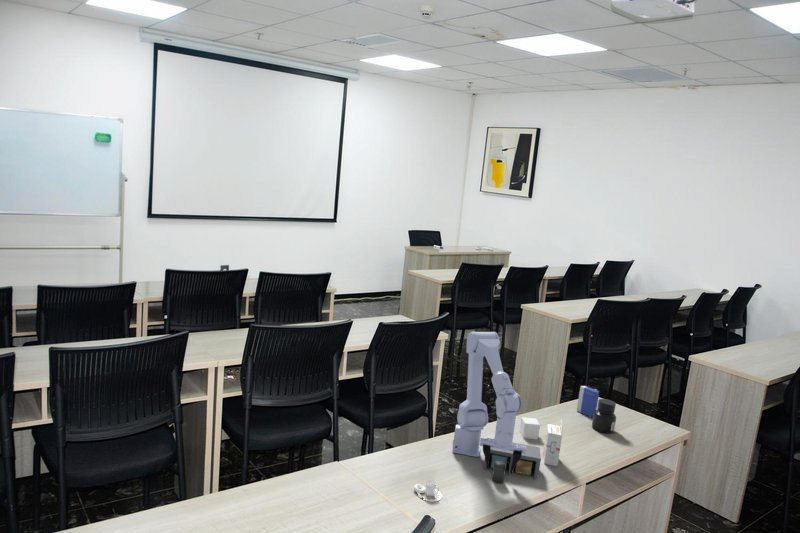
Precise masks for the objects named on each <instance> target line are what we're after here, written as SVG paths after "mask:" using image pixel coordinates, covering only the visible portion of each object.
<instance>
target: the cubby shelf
mask: <svg viewBox="0 0 800 533" xmlns="http://www.w3.org/2000/svg"><path fill="white" fill-rule="evenodd" d="M486 439H492V438H489V437H487V438H486ZM517 444H520V445H523V446H526V451H525V454H522V456H521V458H520V459H526V460H531V461H532V468H531V469H533V478H534V479H536V480H538V479H539V475H540V474H539V473H540V467H541V460H542V456H541V448H540V446H535V445H529V444H524V443H517ZM492 453H493V454H499V455H504V456H507V464H508V474H509V475H512V474H511V473H510V468H511V463H512V458H513V451H510V450H505V451H504V450H500V449H499V448H494V447H491V449H490V457H489V461H491V459H492ZM483 469H484V470H487V469H486V459H485V458H484V461H483Z"/></svg>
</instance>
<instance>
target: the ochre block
mask: <svg viewBox="0 0 800 533" xmlns="http://www.w3.org/2000/svg"><path fill="white" fill-rule="evenodd" d="M532 469H533V468H532V461H531V460H526V459H520V460H519V461H518V462H517V464H516V466H515V468H514V470H515V473H519V474H525V475H531V474H532Z"/></svg>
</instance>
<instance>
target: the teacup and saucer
mask: <svg viewBox="0 0 800 533" xmlns="http://www.w3.org/2000/svg"><path fill="white" fill-rule="evenodd" d="M413 490H414V492H415V493H416V492H417V493H422V494H424V493H425V495H426V496H428V497H433V496H435V495H437V499H436V498H434V499H435V500H433V499H430V500H426V501H425V499H423V500H422V501H425V502H431V503H433V502H435V503H436V502H439V501H441V500H442V499H443V494H442V492H441V491H440V489H439V487H438V486H437V483H436V482H435V481H433V480H427V481H425V486H424V485H422V484H420V483H419V484H418V483H417V484H415V485H413ZM435 491H436V492H435ZM437 493H438V494H437ZM438 495H439V496H438ZM438 497H439V498H438Z"/></svg>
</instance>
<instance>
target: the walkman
mask: <svg viewBox="0 0 800 533" xmlns="http://www.w3.org/2000/svg"><path fill="white" fill-rule="evenodd" d="M599 396H600V390H598V389H596V388H594V389H593V388H592V387H590V386H586V385H580V387H579V394H578V399H577V400H578V401H577V405H576V406H577V407H576V412H577V411H579V412H581V413H580V414H582V413H583V414H582V415H584V414H586V415H585V416H587V415H588V416H587V417H589V416H590V417H589V418H593V415H594V412H595V411H596V410H597V409H598V401H599ZM579 412H578V413H579Z"/></svg>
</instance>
